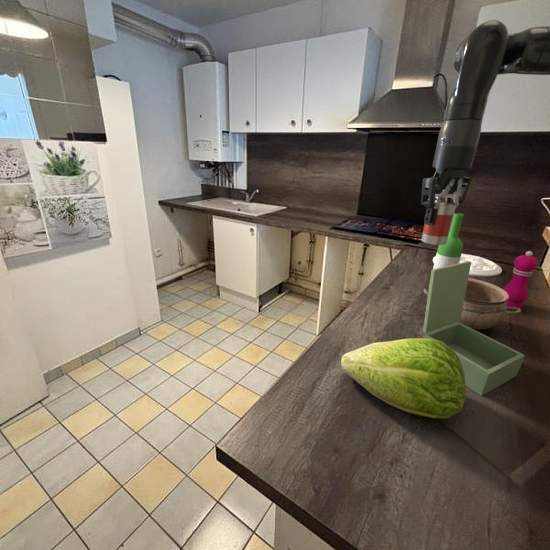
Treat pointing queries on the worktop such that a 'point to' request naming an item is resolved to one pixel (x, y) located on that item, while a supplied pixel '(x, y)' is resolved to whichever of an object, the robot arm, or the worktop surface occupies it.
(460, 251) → the wine bottle
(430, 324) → the bin lid
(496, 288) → the cooking pot
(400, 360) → the lettuce
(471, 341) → the bin
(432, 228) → the jar
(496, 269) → the ceiling medallion
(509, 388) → the worktop surface
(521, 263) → the pepper mill
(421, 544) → the worktop surface
